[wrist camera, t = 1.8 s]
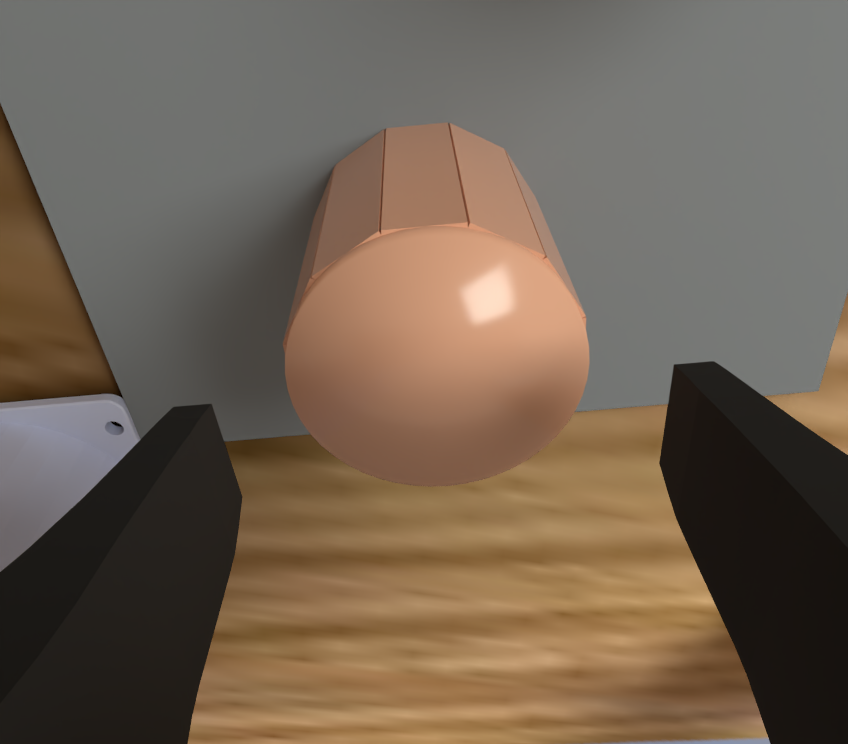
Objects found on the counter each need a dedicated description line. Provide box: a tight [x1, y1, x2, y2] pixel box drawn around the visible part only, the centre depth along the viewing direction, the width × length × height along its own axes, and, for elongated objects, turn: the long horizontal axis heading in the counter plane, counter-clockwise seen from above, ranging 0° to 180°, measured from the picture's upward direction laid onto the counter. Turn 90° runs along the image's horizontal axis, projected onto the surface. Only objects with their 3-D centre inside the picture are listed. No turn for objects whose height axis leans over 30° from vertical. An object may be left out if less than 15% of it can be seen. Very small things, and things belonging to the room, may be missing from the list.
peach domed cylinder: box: [283, 122, 589, 486], centre depth 15 cm, size 5×5×6 cm
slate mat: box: [0, 0, 848, 442], centre depth 15 cm, size 22×20×1 cm
